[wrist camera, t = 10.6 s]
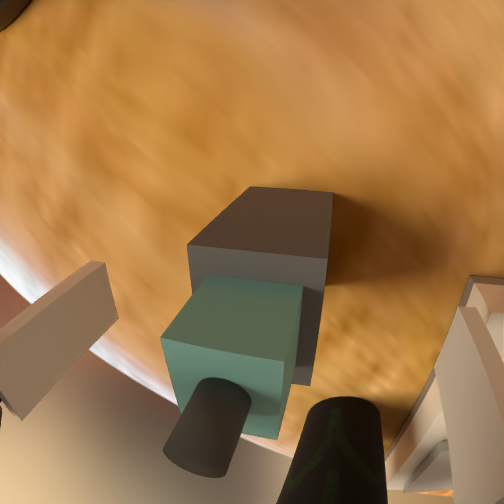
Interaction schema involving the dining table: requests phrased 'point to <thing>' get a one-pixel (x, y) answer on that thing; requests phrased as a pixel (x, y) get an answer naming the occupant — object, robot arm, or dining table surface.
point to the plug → (246, 323)
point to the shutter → (432, 472)
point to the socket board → (429, 402)
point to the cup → (338, 456)
